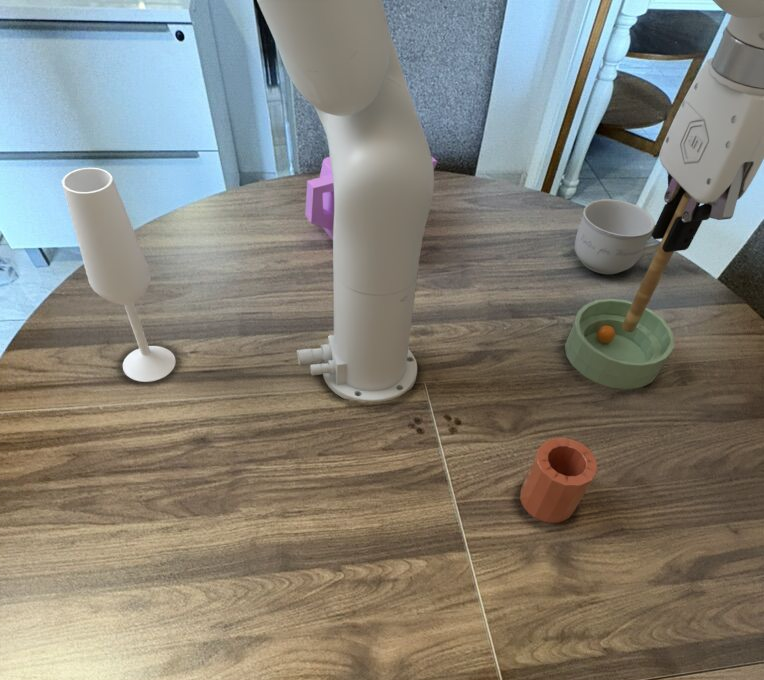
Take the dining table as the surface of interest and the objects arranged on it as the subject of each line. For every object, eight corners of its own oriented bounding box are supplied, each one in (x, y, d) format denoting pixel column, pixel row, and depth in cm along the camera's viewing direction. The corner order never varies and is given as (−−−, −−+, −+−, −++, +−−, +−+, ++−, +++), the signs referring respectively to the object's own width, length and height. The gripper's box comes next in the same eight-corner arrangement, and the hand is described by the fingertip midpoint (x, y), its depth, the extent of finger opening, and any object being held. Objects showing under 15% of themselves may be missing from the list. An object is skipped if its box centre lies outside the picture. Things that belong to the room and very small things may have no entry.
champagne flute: (168, 340, 83) (114, 157, 63) (181, 373, 80) (130, 191, 60) (117, 353, 81) (45, 168, 61) (129, 387, 78) (57, 204, 58)
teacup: (561, 271, 97) (577, 223, 90) (575, 235, 103) (592, 188, 96) (648, 296, 95) (672, 250, 88) (658, 258, 100) (681, 212, 94)
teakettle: (302, 249, 96) (297, 168, 86) (334, 193, 105) (334, 114, 95) (407, 272, 94) (415, 193, 84) (431, 213, 104) (441, 136, 93)
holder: (531, 531, 69) (551, 490, 63) (510, 485, 73) (527, 442, 66) (582, 521, 71) (607, 479, 64) (559, 476, 74) (581, 433, 67)
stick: (625, 333, 81) (688, 201, 66) (618, 324, 82) (680, 192, 67) (637, 331, 82) (703, 200, 67) (630, 322, 82) (694, 191, 68)
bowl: (588, 399, 82) (602, 371, 77) (549, 333, 88) (559, 304, 84) (675, 385, 84) (692, 357, 80) (630, 322, 91) (644, 293, 87)
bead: (599, 347, 86) (605, 334, 84) (591, 336, 88) (597, 322, 86) (614, 345, 87) (620, 332, 85) (606, 334, 88) (612, 320, 86)
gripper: (678, 26, 60) (609, 208, 75) (773, 102, 51) (674, 289, 67) (744, 23, 61) (663, 203, 76) (847, 97, 53) (733, 281, 68)
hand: (669, 242), depth 71 cm, fingers closed on stick, 1 cm apart
